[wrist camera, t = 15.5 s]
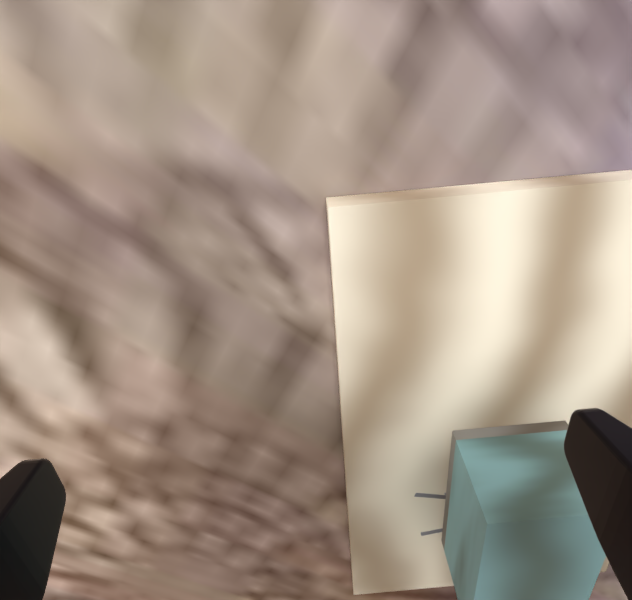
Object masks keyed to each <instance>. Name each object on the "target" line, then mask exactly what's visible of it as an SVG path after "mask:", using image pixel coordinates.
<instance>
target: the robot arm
mask: <svg viewBox="0 0 632 600" xmlns="http://www.w3.org/2000/svg"><path fill="white" fill-rule="evenodd" d="M564 452H565V456H566V459H567V462H568V464H569V467H570V469H571V472H572V474H573V477H574V480H575V482H576V485H577V487H578V490H579V492H580V495H581V498H582V500H583V503H584V505H585V508H586V511H587V513H588V516H589V518H590V521H591V523H592V526H593V528H594V531H595V533H596V536H597V538H598V540H599V543H600V545H601V547H602V549H603V551H604V553H605V555H606V557H607V559H608V561H609V563H610V565H611V567H612V569H613V571H614V573H615V575H616V577H617V578H618V580H619V582H620V584H621V586H622V588H623V590H624V592H625V594H626V596H627V598H628V600H632V428H631V427H629V426H627V425H626V424H624V423H623V422H621V421H620V420H618V419H616V418H615V417H613V416H612V415H610V414H608V413H607V412H605V411H604V410H602V409H599V408H588V409H578V410H575V411H574V412H573V413H572V415H571V417H570V421H569V425H568V429H567V432H566V436H565V440H564ZM65 502H66V492H65V488H64V486H63V484H62V482H61V480H60V478H59V477H58V475H57V473H56V471H55V469H54V467H53V465H52V463H51V462H50V461H49V460H47V459H44V458H43V459H32V460H24V461H22V462H20V463H18V464H17V465H16V466H15V467H13V468H12V469H11V470H10V471H9V472H8V473H6V474H5V475H4V476H3V477H2V478H1V479H0V600H42V599H43V596H44V593H45V589H46V585H47V581H48V577H49V573H50V568H51V564H52V560H53V555H54V551H55V546H56V542H57V538H58V533H59V529H60V524H61V520H62V516H63V511H64V507H65Z"/></svg>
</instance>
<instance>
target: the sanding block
mask: <svg viewBox="0 0 632 600" xmlns="http://www.w3.org/2000/svg"><path fill="white" fill-rule="evenodd" d="M567 429H568V424H567V422H566V421H554V422H543V423H532V424H521V425H509V426H498V427H487V428H476V429H465V430H454V431H452V439H451V449H450V459H449V469H448V479H447V489H446V499H445V509H444V519H443V529H442V539H441V541H442V545H443V548H444V552H445V555H446V559H447V562H448V566H449V570H450V573H451V577H452V580H453V584H454V587H455V591H456V595H457V598H458V600H589V597H590V595H591V592H592V590H593V587H594V585H595V582H596V580H597V577H598V575H599V572H600V570H601V567H602V565H603V562H604V560H605V558H606V555H605V553H604V551H603V549H602V547H601V545H600V543H599V540H598V538H597V536H596V533H595V531H594V528H593V526H592V523H591V521H590V518H589V516H588V513H587V511H586V508H585V505H584V503H583V500H582V498H581V495H580V492H579V490H578V487H577V485H576V482H575V480H574V477H573V474H572V472H571V469H570V467H569V464H568V462H567V459H566V456H565V452H564V440H565V436H566V432H567Z"/></svg>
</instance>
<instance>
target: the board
mask: <svg viewBox="0 0 632 600" xmlns="http://www.w3.org/2000/svg"><path fill="white" fill-rule="evenodd" d="M326 207H327V221H328V236H329V251H330V265H331V280H332V294H333V309H334V323H335V338H336V352H337V367H338V382H339V396H340V411H341V425H342V440H343V454H344V469H345V483H346V498H347V513H348V527H349V542H350V556H351V571H352V583H353V592H354V595H358V594H369V593H380V592H391V591H402V590H413V589H424V588H434V587H445V586H454V584H453V580H452V577H451V573H450V570H449V566H448V562H447V559H446V555H445V552H444V548H443V545H442V541H441V539H442V529H443V519H444V509H445V499H446V489H447V479H448V469H449V459H450V449H451V439H452V431H454V430H465V429H476V428H487V427H498V426H509V425H521V424H532V423H543V422H554V421H566V422H567V424H568V425H569V421H570V417H571V415H572V413H573V412H574V411H575V410H578V409H588V408H599V409H602V410H604V411H605V412H607V413H608V414H610V415H612V416H613V417H615V418H616V419H618V420H620V421H621V422H623V423H624V424H626V425H627V426H629V427H631V428H632V170H624V171H613V172H602V173H591V174H580V175H569V176H558V177H547V178H536V179H525V180H514V181H503V182H492V183H481V184H470V185H459V186H448V187H437V188H426V189H415V190H404V191H393V192H382V193H371V194H360V195H349V196H337V197H326ZM608 565H609V561H608V559H607V557H606V558H605V560H604V562H603V565H602V567H601V570H600V572H606V569H607V567H608Z"/></svg>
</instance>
